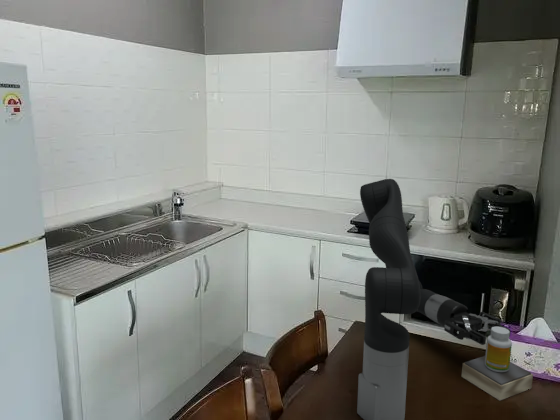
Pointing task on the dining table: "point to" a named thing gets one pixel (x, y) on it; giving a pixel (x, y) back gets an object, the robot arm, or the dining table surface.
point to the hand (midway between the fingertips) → (497, 337)
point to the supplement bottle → (498, 350)
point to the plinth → (497, 378)
